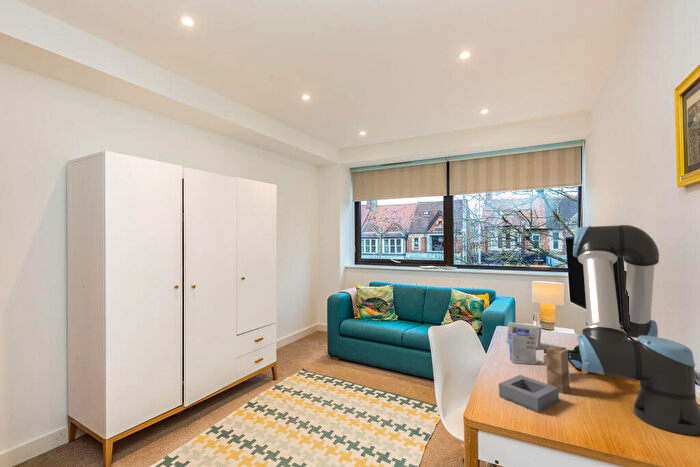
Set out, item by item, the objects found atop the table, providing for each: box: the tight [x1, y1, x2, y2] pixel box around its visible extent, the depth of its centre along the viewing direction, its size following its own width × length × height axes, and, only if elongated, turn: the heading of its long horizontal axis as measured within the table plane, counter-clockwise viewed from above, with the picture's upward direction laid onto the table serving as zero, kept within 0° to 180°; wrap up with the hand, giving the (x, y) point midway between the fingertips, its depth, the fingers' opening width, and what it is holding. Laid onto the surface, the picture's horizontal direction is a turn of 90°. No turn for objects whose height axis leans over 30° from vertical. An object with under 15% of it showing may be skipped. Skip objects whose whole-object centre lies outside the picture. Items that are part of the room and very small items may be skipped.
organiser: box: [498, 374, 560, 414], centre depth 109 cm, size 13×13×4 cm
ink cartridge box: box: [508, 328, 537, 365], centre depth 143 cm, size 10×6×14 cm, turn 78°
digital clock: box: [506, 321, 542, 350], centre depth 166 cm, size 16×9×11 cm, turn 30°
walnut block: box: [545, 346, 570, 394], centre depth 116 cm, size 5×5×14 cm
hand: (561, 364), depth 119 cm, fingers open, 13 cm apart
